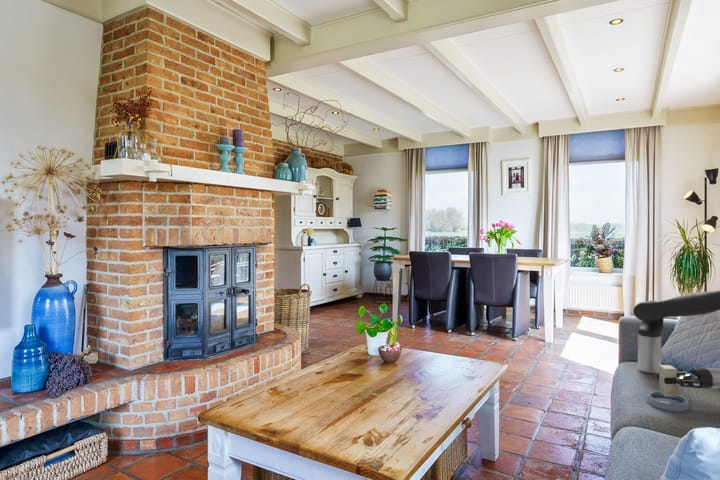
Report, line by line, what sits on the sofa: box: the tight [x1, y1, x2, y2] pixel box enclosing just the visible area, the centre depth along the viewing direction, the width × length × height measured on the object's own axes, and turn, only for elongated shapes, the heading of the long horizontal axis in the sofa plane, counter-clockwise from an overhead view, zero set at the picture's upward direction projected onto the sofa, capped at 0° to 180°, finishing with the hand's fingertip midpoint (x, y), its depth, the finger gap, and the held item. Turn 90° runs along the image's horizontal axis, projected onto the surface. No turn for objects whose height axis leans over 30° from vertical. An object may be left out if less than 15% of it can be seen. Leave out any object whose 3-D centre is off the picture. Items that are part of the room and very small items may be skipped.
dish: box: [646, 390, 689, 412], centre depth 170 cm, size 13×13×2 cm
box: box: [658, 364, 678, 397], centre depth 169 cm, size 5×4×11 cm
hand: (660, 378), depth 170 cm, fingers closed on box, 5 cm apart
